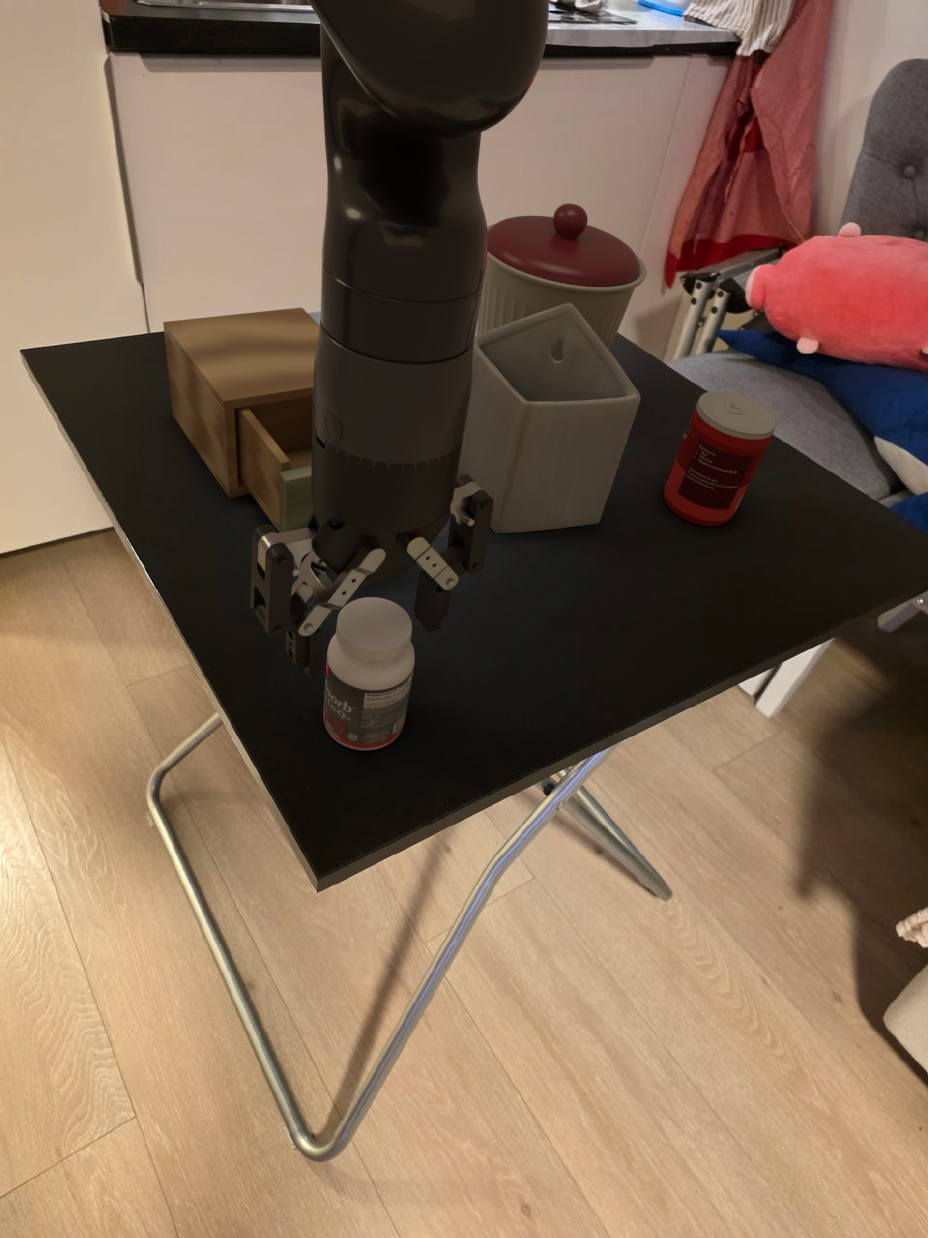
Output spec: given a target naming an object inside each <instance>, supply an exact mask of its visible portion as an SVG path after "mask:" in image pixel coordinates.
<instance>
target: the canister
mask: <svg viewBox="0 0 928 1238" xmlns="http://www.w3.org/2000/svg"><path fill="white" fill-rule="evenodd" d="M588 222H589V218H588V214H587V212H586V210H585V209H584V208H583V207H581V205H578V204H575V203H563V204H561V205H559V206H558V207H557V208H556V209H555V211H554V213H553V216H548V215H519V216H512V217H508V218H504V219H502V220H499V221H498V222H495V223H493V224H490V225H487V231H488V251H487V262H486V270H485V278H484V282H483V288H482V295H481V301H480V307H479V313H478V319H477V325H476V336H478V335H481V334H484V333H486V332H489V331H491V330H494V329H496V328H499V327H501V326H503V325H506V324H509V323H511V322H514V321H517V320H520V319H522V318H525V317H528V316H531V315H534V314H536V313H539V312H542V311H545V310H548V309H550V308H553V307H556V306H559V305H562V304H565V303H571V304H573V305H574V306H575V307H576V309H577V310H578V311H579V312H580V314H581V315H582V316H583V317H584V319H585V320H586V321H587V323H588V324H589V325H590V327H591V328H592V329H593V330H594V332H595V333H596V334H597V336H598V337H599V338H600V340H601V341H602V342H603V344H604V345H605V346H606V348H607V349H608V350H609V351H611V348H612V347H613V343H614V341H615V338H616V337H617V333H618V331H619V330H620V329H619V328H620V326H621V324H622V322H623V319H624V316H625V314H626V312H627V310H628V307H629V305H630V302H631V299H632V297H633V294H634V292H635V290H636V288H637V287H639V286H640V285H642V283H643V282H644V281H645V280H646V278H647V274H648V273H647V271H648V270H647V267H646V265H645V263H644V262H643V260H642V259H641V257H639V256H638V255H637V254H636V253H635V251H634V250H633V249H632V248H631V247H630V246H629V245H628V244H627V243H626V242H624V241H623V240H621V239H620V238H618V237H617V236H615V235H614V234H612V233H609V232H608V231H605V230H603V229H600V228H598V227H595V226H594V225H593V226H592V225H589V224H588ZM562 347H563V342H562V341H558V345H557V347H556V348H555V349H554V350H553V351H552V357H553V358H554V359H555V360H556V361H561V360H562V359H563V356H564V355H563V351H562Z"/></svg>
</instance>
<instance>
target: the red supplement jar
mask: <svg viewBox="0 0 928 1238" xmlns="http://www.w3.org/2000/svg"><path fill="white" fill-rule="evenodd" d="M777 424H778V423H777V418H776V417H775V415H774V414H773V413H772V411H771V410H770V409H769V408H768V407H766V406H765V405H764V404H762V403H761V402H759V401H757V400H755V399H753V398H751V397H749V396H746V395H744V394H741V393H737V392H734V391H728V390H710V391H706V392H704V393H702V394H701V395H700V396H699V398H698V400H697V402H696V404H695V406H694V409H693V412H692V414H691V416H690V419H689V421H688V424H687V426H686V429H685V432H684V435H683V437H682V439H681V442H680V445H679V446H678V449H677V452H676V455H675V457H674V460H673V462H672V465H671V467H670V470H669V473H668V475H667V477H666V480H665V483H664V485H663V486H664V487H663V499H664V500H663V501H664V502H665V504H666V506H667V507H668V508H669V509H670V511H672V512H673V513H674V514H675V515H676V516H678V517H680V518H681V519H684V520H685V521H687V522H689V523H692V524H695V525H698V526H704V527H717V526H721V525H724V524H725V523H727V522H729V521H730V519H731V518H732V517H733V516H735V513H736V512H737V510H738V508H739V505H740V503H741V502H742V499H743V497H744V495H745V493H746V491H747V489H748V487H749V485H750V483H751V481H752V479H753V477H754V475H755V473H756V470H757V469H758V466H759V464H760V463H761V460H762V459H763V457H764V454H765V452H766V450H767V449H768V446H769V444H770V442H771V440H772V438H773V435H774V433H775V430H776V428H777Z"/></svg>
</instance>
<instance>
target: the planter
mask: <svg viewBox="0 0 928 1238" xmlns="http://www.w3.org/2000/svg"><path fill="white" fill-rule="evenodd" d="M558 341H562V342H563V347H562V351H563V355H564V356H563V359H562V360H561V361H556V360H555V359H554V358H553V357H552V351H553V350H554V349H555V348H556V347H557V345H558ZM640 402H641V395H640V391H639V390H638V389H637V388H636V386H635V385H634V383H633V382H632V380H631V379H630V378H629V376H628V375H627V373H626V372H625V370H624V369H623V368H622V366H621V365H620V362H619V361H618V360H617V359H616V358H615V357H614V356H613V354H612V352H611V350H608V349H607V348H606V346H605V345H604V344H603V342H602V341H601V340H600V338H599V337H598V336H597V334H596V333H595V332H594V330H593V329H592V328H591V327H590V325H589V324H588V323H587V321H586V320H585V319H584V317H583V316H582V315H581V314H580V312H579V311H578V310H577V309H576V307H575V306H574V305H573V304H571V303H565V304H562V305H559V306H556V307H553V308H550V309H548V310H545V311H542V312H539V313H536V314H534V315H531V316H528V317H525V318H522V319H520V320H517V321H514V322H511V323H509V324H506V325H503V326H501V327H499V328H496V329H494V330H491V331H489V332H486V333H484V334H481V335H478V336H477V335H475V337H474V346H473V361H472V388H471V395H470V401H469V407H468V413H467V419H466V425H465V431H464V437H463V443H462V448H461V454H460V460H459V466H458V472H457V478H456V480H457V479H458V478H459V477H460V476H462V475H465V474H466V475H469V476H470V477H471V478H472V479H473V480H474V481H475V482H476V483H477V484H478V485H479V486H480V487H481V488H482V489H483V490H484V491H485V492H486V493H487V494H488V495H489V496H490V497H491V498H492V499H493V501H494V503H493V510H492V516H491V523H490V529H491V530H492V531H493V533H495V534H512V533H513V534H515V533H516V534H517V533H529V532H539V531H550V530H551V531H552V530H559V529H567V528H575V527H583V526H590V525H596V524H599V523H600V522H601V519H602V516H603V513H604V511H605V507H606V504H607V501H608V498H609V495H610V492H611V489H612V487H613V483H614V481H615V478H616V475H617V471H618V469H619V466H620V463H621V460H622V457H623V454H624V452H625V448H626V446H627V442H628V440H629V435H630V434H631V431H632V427H633V425H634V422H635V419H636V415H637V413H638V409H639V406H640Z"/></svg>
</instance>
